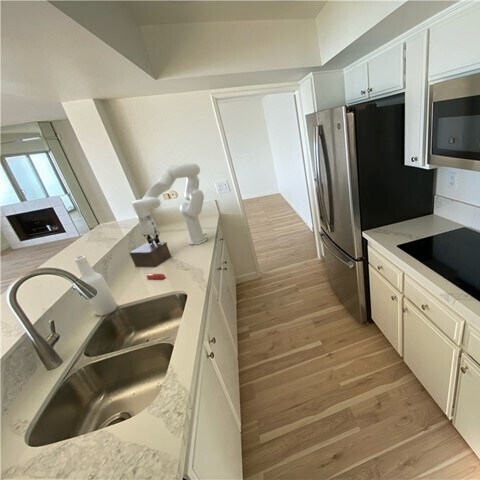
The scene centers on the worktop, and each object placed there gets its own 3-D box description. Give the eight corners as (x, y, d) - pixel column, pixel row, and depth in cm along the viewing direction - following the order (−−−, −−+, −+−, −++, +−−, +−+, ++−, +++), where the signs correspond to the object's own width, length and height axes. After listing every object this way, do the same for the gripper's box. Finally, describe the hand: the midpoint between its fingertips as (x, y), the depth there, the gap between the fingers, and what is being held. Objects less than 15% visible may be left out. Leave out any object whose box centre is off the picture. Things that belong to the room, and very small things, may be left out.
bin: (152, 256, 191) (147, 244, 187) (171, 256, 187) (166, 244, 183) (135, 266, 178) (129, 253, 174) (155, 266, 174) (150, 253, 170)
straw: (146, 279, 159) (144, 275, 157) (150, 277, 161) (148, 272, 160) (163, 280, 156) (161, 275, 155) (166, 277, 158) (165, 273, 157)
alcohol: (104, 306, 136) (77, 254, 124) (121, 303, 137) (96, 252, 125) (92, 317, 128) (61, 263, 116) (110, 314, 128) (82, 260, 117)
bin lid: (148, 243, 188) (145, 237, 186) (167, 243, 184) (164, 236, 182) (129, 253, 174) (126, 246, 172) (150, 253, 170) (147, 246, 168)
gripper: (159, 216, 177) (168, 240, 184) (139, 217, 181) (148, 241, 189) (150, 219, 171) (160, 245, 178) (129, 220, 175) (140, 245, 182)
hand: (154, 242), depth 183 cm, fingers closed on bin lid, 5 cm apart
